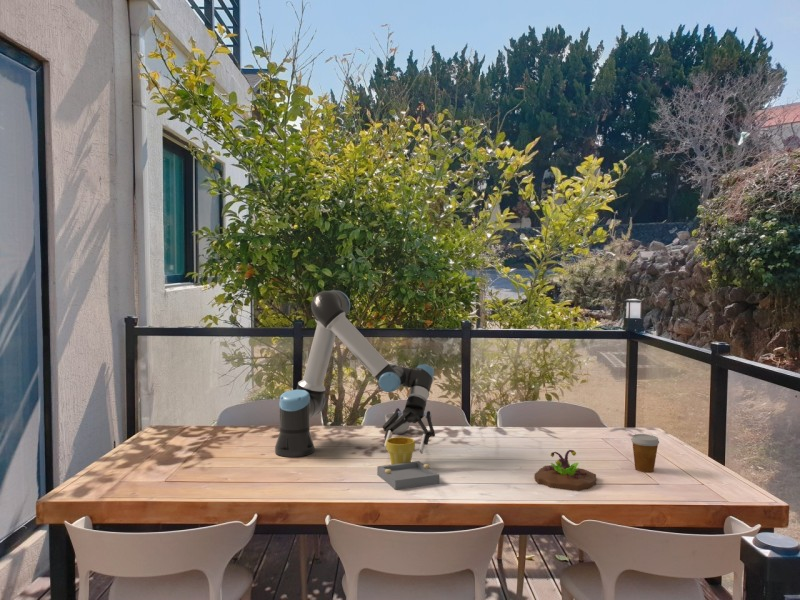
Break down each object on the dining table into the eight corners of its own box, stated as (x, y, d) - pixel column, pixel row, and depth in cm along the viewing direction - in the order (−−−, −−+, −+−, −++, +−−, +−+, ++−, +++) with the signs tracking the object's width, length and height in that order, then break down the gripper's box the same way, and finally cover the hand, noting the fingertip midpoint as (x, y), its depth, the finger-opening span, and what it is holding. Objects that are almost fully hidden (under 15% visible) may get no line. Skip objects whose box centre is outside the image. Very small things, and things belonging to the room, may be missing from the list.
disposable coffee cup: (657, 467, 225) (658, 435, 224) (659, 475, 216) (660, 441, 215) (629, 464, 228) (630, 432, 227) (630, 472, 219) (631, 439, 218)
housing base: (394, 489, 198) (394, 477, 198) (376, 474, 213) (376, 463, 213) (439, 483, 205) (439, 471, 205) (419, 469, 220) (419, 458, 220)
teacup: (409, 435, 266) (409, 417, 265) (384, 435, 266) (384, 417, 266) (409, 427, 280) (409, 410, 279) (385, 427, 280) (385, 410, 280)
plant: (586, 496, 196) (586, 461, 195) (528, 484, 206) (528, 451, 206) (602, 479, 212) (603, 447, 212) (548, 468, 223) (548, 438, 223)
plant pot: (381, 469, 219) (382, 442, 219) (392, 461, 229) (392, 435, 228) (409, 472, 216) (409, 445, 215) (418, 464, 225) (418, 438, 225)
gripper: (450, 408, 234) (438, 458, 220) (389, 403, 242) (374, 451, 229) (446, 397, 228) (433, 447, 215) (384, 392, 237) (368, 440, 224)
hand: (403, 449), depth 222 cm, fingers open, 13 cm apart
